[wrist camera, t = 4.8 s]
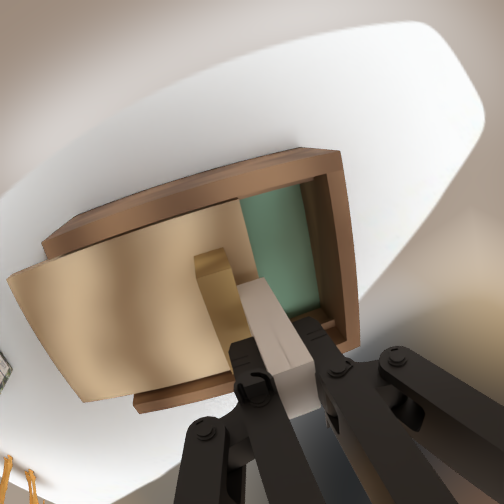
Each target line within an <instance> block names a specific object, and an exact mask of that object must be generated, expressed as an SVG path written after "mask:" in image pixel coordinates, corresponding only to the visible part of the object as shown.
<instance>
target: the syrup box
mask: <svg viewBox="0 0 504 504" xmlns="http://www.w3.org/2000/svg"><path fill="white" fill-rule="evenodd" d="M11 372H12V368H11V367H10V366H9V364H8V363H7V361H6V360H5V358H4V357H3V355H2V354H1V353H0V394H1V392H2V390H3V388H4V386H5V384H6V382H7V380H8V378H9V376H10V374H11Z"/></svg>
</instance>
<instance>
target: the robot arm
mask: <svg viewBox="0 0 504 504" xmlns="http://www.w3.org/2000/svg"><path fill="white" fill-rule="evenodd" d="M237 290H238V293H239V296H240V300H241V303H242V307H243V310H244V313H245V316H246V319H247V323H248V326H249V329H250V332H251V335H252V337H249V338H246V339H243V340H240V341H237V342H233V343H231V345H230V348H229V351H228V353H229V357H230V361H231V365H232V369H233V373H234V377H235V383H234V389H233V390H234V393H235V395H236V397H237V399H238V403H237V405H236V407H235V408H234V409H233V410H232V411H231V412H229V413H228V414H226V415H225V416H223V417H221V418H220V419H218V418H216V417H211V416H207V417H202V418H199V419H197V420H196V421H194V422H193V423H192V424H191V425H190V426H189V428H188V430H187V433H186V438H185V443H184V449H183V454H182V459H181V465H180V470H179V475H178V481H177V487H176V493H175V498H174V504H245V484H246V464H247V463H248V462H250V461H252V460H253V459H256V462H257V466H258V469H259V472H260V476H261V479H262V482H263V485H264V488H265V492H266V495H267V498H268V501H269V504H326V503H325V500H324V498H323V496H322V494H321V492H320V489H319V487H318V485H317V483H316V480H315V478H314V476H313V474H312V471H311V469H310V467H309V464H308V462H307V460H306V458H305V455H304V453H303V451H302V448H301V446H300V444H299V441H298V439H297V437H296V434H295V432H294V430H293V427H292V425H291V422H290V420H289V419H292V418H295V417H297V416H300V415H303V414H305V413H308V412H311V411H313V410H316V409H318V408H321V404H322V405H323V407H324V409H325V417H326V424H327V428H329V427H330V426H331V428H332V430H333V432H334V434H335V435H336V437H337V439H338V441H339V443H340V445H341V447H342V449H343V451H344V452H345V454H346V456H347V458H348V460H349V462H350V464H351V465H352V467H353V469H354V471H355V473H356V475H357V476H358V478H359V480H360V482H361V484H362V486H363V488H364V489H365V491H366V493H367V495H368V497H369V499H370V500H371V502H372V504H458V503H457V501H456V500H455V498H454V497H453V495H452V494H451V493H450V491H449V490H448V488H447V487H446V485H445V484H444V483H443V481H442V480H441V479H440V477H439V476H438V474H437V473H436V471H435V470H434V469H433V467H432V466H431V464H430V463H429V462H428V460H427V459H426V458H425V456H424V455H423V453H422V452H421V451H420V450H419V448H418V447H417V445H416V444H415V442H414V441H413V440H412V438H413V439H414V440H415V441H416V442H418V443H419V444H420V445H422V446H423V447H424V448H425V449H427V450H428V451H429V452H431V453H432V454H433V455H434V456H436V457H437V458H438V459H440V460H441V461H442V462H444V463H445V464H446V465H448V466H449V467H450V468H451V469H453V470H454V471H455V472H457V473H459V475H461V476H462V477H464V478H465V479H466V480H468V481H469V482H470V483H472V484H473V485H474V486H476V487H477V488H479V489H480V490H481V491H483V492H484V493H485V494H487V495H488V496H490V497H491V498H492V499H494V500H495V501H497V502H498V503H500V504H504V406H502V405H500V404H499V403H497V402H495V401H494V400H492V399H491V398H489V397H487V396H486V395H484V394H482V393H481V392H479V391H477V390H476V389H474V388H473V387H471V386H469V385H468V384H466V383H464V382H462V381H461V380H459V379H458V378H456V377H454V376H453V375H451V374H449V373H448V372H446V371H444V370H443V369H441V368H440V367H438V366H436V365H435V364H433V363H431V362H430V361H428V360H427V359H425V358H423V357H422V356H420V355H419V354H417V353H415V352H414V351H412V350H410V349H408V348H406V347H403V346H395V347H390V348H388V349H386V350H384V351H383V352H382V354H381V355H380V358H379V360H375V361H369V362H354V361H353V360H352V359H350V358H346V357H344V355H343V354H342V353H341V352H340V350H339V349H338V347H337V346H336V345H335V343H334V342H333V341H332V339H331V338H330V337H329V335H328V334H327V332H326V331H325V330H324V329H323V327H322V326H321V324H320V323H319V322H318V321H317V320H315V319H313V318H312V317H310V316H308V317H305V318H302V319H300V320H297V321H294V322H291V321H290V320H289V318H288V316H287V315H286V313H285V311H284V310H283V308H282V306H281V305H280V303H279V301H278V300H277V298H276V296H275V295H274V293H273V291H272V290H271V288H270V286H269V285H268V283H267V281H266V280H265V278H264V277H262V278H259V279H256V280H253V281H250V282H246V283H243V284H240V285H237ZM320 402H321V404H320Z"/></svg>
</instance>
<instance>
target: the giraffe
mask: <svg viewBox="0 0 504 504" xmlns="http://www.w3.org/2000/svg"><path fill="white" fill-rule="evenodd" d="M4 460H5V462H4V471H3V476H2V480H1V484H0V504H4V499H5V493H6V490H7V485H8V480H9V475H10V471H11V469H12V467H13V464H12V460H13V458H12V457H11V456H10V455H8V459H7V458H5V457H4ZM28 470H29V473H28V472H26V471H25V475H26V479H27V481H28V485H29V493H30V504H39V503H38V499H37V494H36V486H35V479H36V477H35V476H34V475H33V473H34V472H33V471H32V470H30V469H28ZM29 474H30V476H29ZM31 481H32V485H33V495H32V487H31ZM43 504H44V501H43Z"/></svg>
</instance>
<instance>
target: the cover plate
mask: <svg viewBox="0 0 504 504" xmlns="http://www.w3.org/2000/svg"><path fill="white" fill-rule="evenodd" d="M256 279H259V276H258V272H257V268H256V264H255V260H254V256H253V252H252V249H251V245H250V241H249V237H248V233H247V229H246V225H245V221H244V217H243V214H242V210H241V206H240V202H239V199H238V198H237V197H235V198H231V199H228V200H225V201H221V202H218V203H214V204H211V205H208V206H204V207H201V208H198V209H194V210H191V211H188V212H185V213H181V214H178V215H175V216H172V217H169V218H166V219H163V220H159V221H156V222H153V223H150V224H147V225H144V226H141V227H138V228H135V229H132V230H129V231H126V232H123V233H121V234H118V235H115V236H112V237H109V238H106V239H104V240H101V241H98V242H95V243H92V244H90V245H87V246H84V247H81V248H79V249H76V250H73V251H71V252H68V253H65V254H63V255H60V256H58V257H55V258H52V259H50V260H45V261H43V262H40V263H38V264H35V265H33V266H31V267H28V268H26V269H23V270H21V271H18V272H16V273H14V274H12V275H10V276H9V277H8V278H7V279H6V280H7V282H8V285H9V287H10V289H11V291H12V293H13V295H14V297H15V299H16V301H17V302H18V304H19V306H20V308H21V310H22V312H23V314H24V315H25V317H26V319H27V321H28V323H29V324H30V326H31V328H32V329H33V331H34V333H35V334H36V336H37V338H38V339H39V341H40V343H41V344H42V346H43V347H44V349H45V350H46V352H47V353H48V355H49V357H50V358H51V360H52V361H53V362H54V364H55V365H56V367H57V368H58V370H59V371H60V373H61V374H62V375H63V377H64V378H65V379H66V381H67V382H68V384H69V385H70V386H71V388H72V389H73V390H74V391H75V393H76V394H77V395H78V397H79V398H80V399H81V400H82V402H83V403H85V402H92V401H98V400H104V399H110V398H115V397H121V396H126V395H131V394H136V393H141V392H145V391H150V390H155V389H159V388H163V387H168V386H172V385H176V384H180V383H184V382H188V381H192V380H196V379H200V378H203V377H207V376H211V375H214V374H218V373H221V372H225V371H228V370H231V372H232V374H234V373H233V369H232V365H231V361H230V357H229V353H228V351H229V348H230V345H231V343H233V342H237V341H240V340H243V339H246V338H249V337H252V335H251V332H250V329H249V326H248V323H247V319H246V316H245V313H244V310H243V307H242V303H241V300H240V296H239V293H238V290H237V285H240V284H243V283H246V282H250V281H253V280H256Z"/></svg>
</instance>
